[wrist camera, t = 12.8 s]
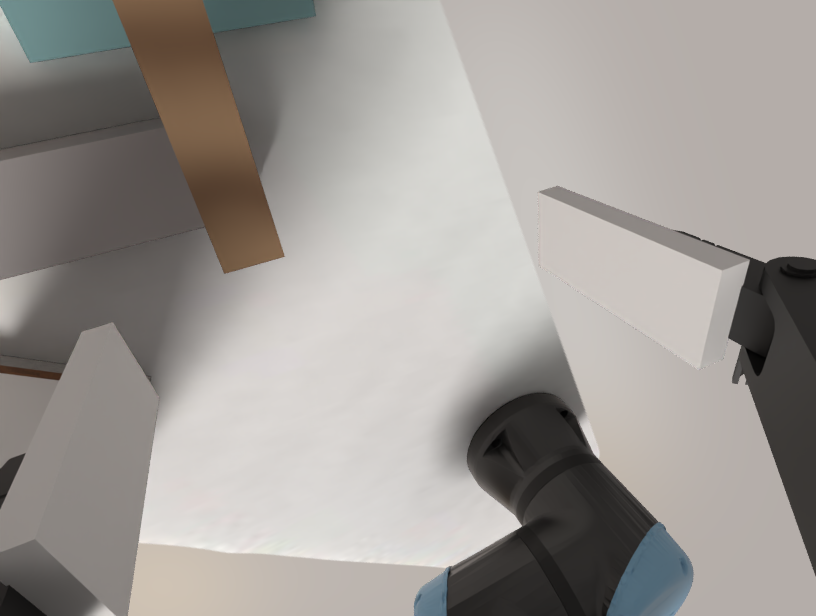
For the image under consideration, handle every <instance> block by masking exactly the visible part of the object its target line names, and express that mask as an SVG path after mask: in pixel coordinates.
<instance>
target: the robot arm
mask: <svg viewBox="0 0 816 616" xmlns="http://www.w3.org/2000/svg"><path fill="white" fill-rule="evenodd" d="M538 251H539V254H538V255H539V266H540V267H541V268H543V269H544V270H546V271H547V272H549V273H550V274H552V275H553V276H555V277H557V278H558V279H560V280H561V281H563V282H564V283H566V284H567V285H569V286H570V287H572V288H574V289H575V290H577V291H578V292H580V293H581V294H583V295H584V296H586V297H587V298H589V299H590V300H592V301H593V302H595V303H597V304H598V305H600V306H601V307H603V308H604V309H606V310H607V311H609V312H610V313H612V314H614V315H615V316H616V317H618V318H620V319H621V320H623V321H624V322H626V323H627V324H629V325H630V326H632V327H633V328H635V329H636V330H638V331H640V332H641V333H643V334H644V335H646V336H647V337H649V338H650V339H652V340H653V341H655V342H657V343H658V344H660V345H661V346H663V347H664V348H666V349H667V350H669V351H670V352H672V353H674V354H675V355H676V356H678V357H679V358H681V359H683V360H684V361H686V362H687V363H689V364H690V365H692V366H693V367H695V368H697V369H698V370H701V369H703V368H705V367H707V366H710V365H712V364H714V363H716V362H719V361H721V360H723V359H724V355H725V351H726V347H727V344H728V340H729V339H731V340H733V341H735V342H737V343H738V344H740V345H742V346H741V349H740V353H739V356H738V360H737V363H736V367H735V370H734V374H733V378H732V383H735V384H738V381H739V378H740V376H741V375H743V374H744V375H745V377H746V385H748V386H749V389H750V392H751V394H752V397H753V400H754V403H755V406H756V409H757V411H758V414H759V417H760V420H761V423H762V425H763V428H764V431H765V434H766V437H767V440H768V443H769V445H770V448H771V451H772V454H773V457H774V459H775V462H776V465H777V468H778V471H779V474H780V476H781V479H782V482H783V485H784V488H785V491H786V493H787V496H788V499H789V502H790V505H791V508H792V510H793V513H794V516H795V519H796V522H797V525H798V527H799V530H800V533H801V536H802V539H803V542H804V544H805V547H806V550H807V553H808V556H809V559H810V561H811V564H812V567H813V570H814V573H815V576H816V260H814V259H810V258H804V257H779V258H776V259H772V260H770V261H768V262H767V263H764V262H761V261H758V260H756V259H753V258H751V257H748V256H745V255H743V254H740V253H737V252H735V251H732V250H730V249H727V248H724V247H722V246H719V245H717V246H715V244H714V243H711V242H709V241H706V240H701V239H700V238H698V237H696V236H693V235H690V234H688V233H685V232H681V231H676V230H671V229H668V228H665V227H663V226H661V225H658V224H655V223H653V222H650V221H648V220H645V219H642V218H639V217H637V216H634V215H632V214H629V213H627V212H624V211H622V210H619V209H616V208H614V207H611V206H608V205H606V204H603V203H601V202H598V201H596V200H593V199H590V198H588V197H585V196H583V195H580V194H577V193H575V192H572V191H570V190H567V189H564V188H562V187H559V186H556V187H553V188H550V189H546V190H543V191H540V192H538ZM158 404H159V396H158V395H157V393H156V391H155V390H154V388H153V386H152V385H151V383H150V382H149V380H148V378H147V377H146V375H145V373H144V372H143V370H142V369H141V367H140V365H139V364H138V362H137V360H136V359H135V357H134V356H133V354H132V352H131V351H130V349H129V348H128V346H127V344H126V343H125V341H124V339H123V338H122V336H121V335H120V333H119V331H118V330H117V328H116V326H115V325H114V323H113V322H112V323H108V324H105V325H102V326H99V327H95V328H92V329H89V330H86V331H82V332H81V334H80V336H79V339H78V341H77V343H76V345H75V347H74V350H73V352H72V354H71V356H70V358H69V360H68V363H67V365H66V367H65V369H64V371H63V374H62V376H61V378H60V380H59V382H58V384H57V387H56V389H55V391H54V393H53V395H52V398H51V400H50V402H49V404H48V406H47V408H46V411H45V413H44V415H43V417H42V419H41V422H40V424H39V426H38V428H37V430H36V432H35V435H34V437H33V439H32V441H31V443H30V446H29V448H28V450H27V452H26V453H24V454H22V455H19V456H16V457H13V458H10V459H9V460H8V461H7V462H6V463H5V464H4V465H3V466H2V467H1V469H0V616H128V609H129V603H130V596H131V589H132V582H133V575H134V568H135V561H136V555H137V548H138V541H139V534H140V527H141V520H142V514H143V507H144V500H145V493H146V486H147V479H148V473H149V466H150V459H151V452H152V445H153V438H154V431H155V425H156V418H157V411H158ZM467 464H468V468H469V470H470V472H471V474H472V475H473V477H474V478H475V480H476V482H477V483H478V485H479V486H480V487H481V488H482V489H483V490H484V491H485V492H487V493H488V494H489V495H490V496H492V497H493V498H494V499H495V500H497V501H498V502H499V503H500V504H502V505H503V506H504V507H505V508H507V509H508V510H509V511H510V512H512V513H513V514H514V515H515V516H516V518H517V519H518V520H519V522H520V523H521V525H522V527H521V528H519V529H517V530H516V531H514V532H512V533H510V534H508V535H507V536H505V537H503V538H501V539H500V540H498V541H496V542H495V543H493V544H491V545H490V546H488V547H486V548H484V549H483V550H481V551H479V552H477V553H476V554H474V555H472V556H470V557H469V558H467V559H465V560H463V561H461V562H460V563H458V564H456V565H454V566H449V567H447V568H446V570H445V571H444V572H443V573H442V574H440V575H439V576H437V577H436V578H434V579H433V580H431V581H430V582H428V583H427V584H425V585H424V586H422V588H420V590H419V591H418V593H417V595H416V598H415V602H414V616H674V615H675V614H676V612H677V611H678V609H679V608H680V607H681V605H682V604H683V602H684V601H685V599H686V597H687V595H688V593H689V591H690V588H691V586H692V582H693V567H692V564H691V561H690V559H689V558H688V556H687V555H686V553H685V552H684V551H683V550H682V549H681V548H680V546H679V545H678V544H677V543H676V542H675V541H674V540H673V538H672V537H671V536H670V535H669V534H668V533H667V531H666V528H665V526H664V525H663V524H661V523H660V522H658V521H657V520H656V519H655V518H654V517H653V516H652V515H651V514H650V513H649V511H647V510H646V508H645V507H644V506H642V504H641V503H640V502H639V501H638V500H637V499H636V498H635V497H634V496H633V495H632V494H631V493H630V492H629V491H628V490H627V489H626V487H625V486H624V485H623V484H622V483H621V482H620V481H619V480H618V479H617V478H616V477H615V476H614V475H613V474H612V473H611V472H610V471H609V470H608V469H607V468H606V467H605V466H604V465H603V464H602V463H601V461H600V460H599V459H598V458H597V457H596V456H595V455H594V454H593V452H592V450H591V447H590V445H589V443H588V441H587V439H586V437H585V435H584V433H583V430H582V428H581V426H580V424H579V422H578V420H577V418H576V416H575V414H574V413H573V411H572V410H571V409H570V408H569V407H568V406H567V405H566V404H565V403H564V402H563V401H562V400H561V399H560V398H558V397H557V396H554V395H551V394H546V393H537V394H530V395H526V396H523V397H520V398H518V399H516V400H513V401H511V402H510V403H508V404H506V405H504V406H503V407H501V408H500V409H499V410H497V411H496V412H495V413H494V414H492V415H491V416H490V417H489V418H488V419H487V420H486V421H485V422H484V423H483V424H482V426H481V427H480V428H479V430H478V431H477V432H476V434H475V436H474V437H473V439H472V441H471V444H470V446H469V449H468V454H467Z"/></svg>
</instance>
